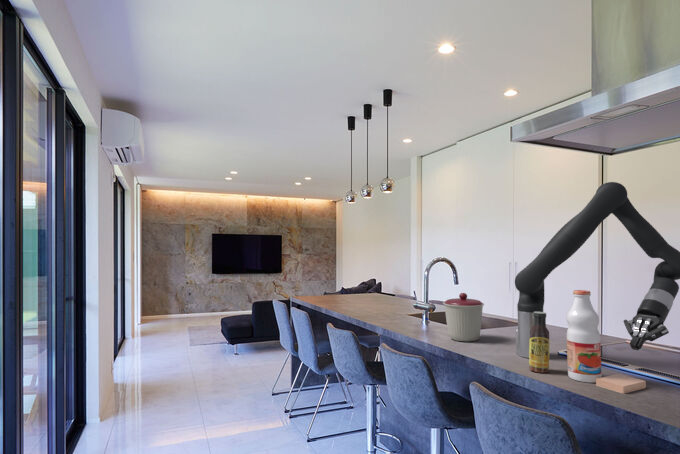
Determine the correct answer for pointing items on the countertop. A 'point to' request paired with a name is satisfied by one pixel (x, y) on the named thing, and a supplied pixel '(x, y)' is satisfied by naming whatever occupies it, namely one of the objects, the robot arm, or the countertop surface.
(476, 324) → the canister
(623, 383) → the pale green flat block
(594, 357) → the fruit juice
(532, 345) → the sauce bottle
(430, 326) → the countertop surface
